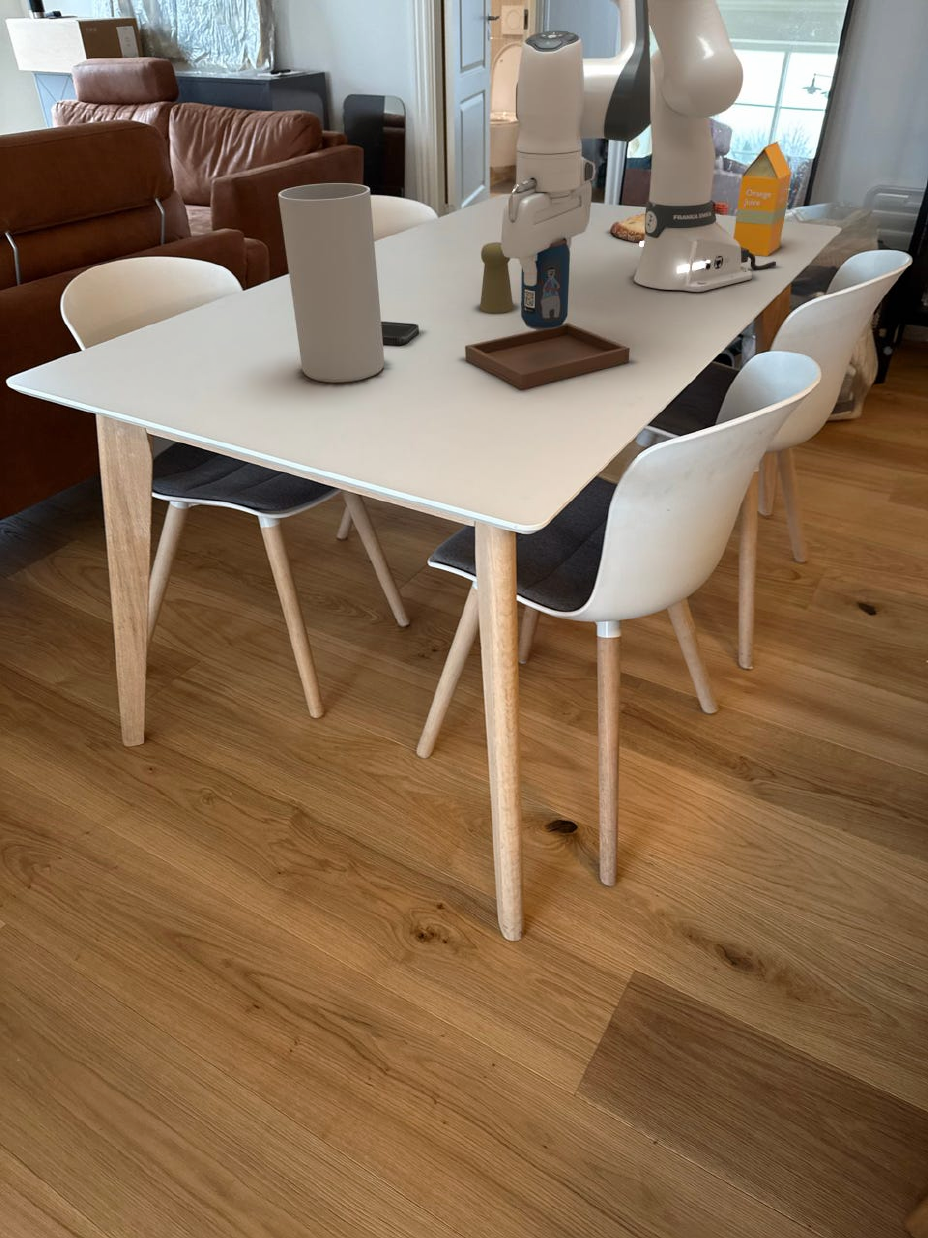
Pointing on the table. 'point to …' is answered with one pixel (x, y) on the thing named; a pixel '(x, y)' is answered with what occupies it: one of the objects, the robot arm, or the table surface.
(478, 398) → the table surface
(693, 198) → the robot arm
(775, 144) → the orange juice
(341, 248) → the cylinder vase
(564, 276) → the soda can
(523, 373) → the tray
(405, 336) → the phone
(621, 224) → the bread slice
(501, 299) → the olive pawn
